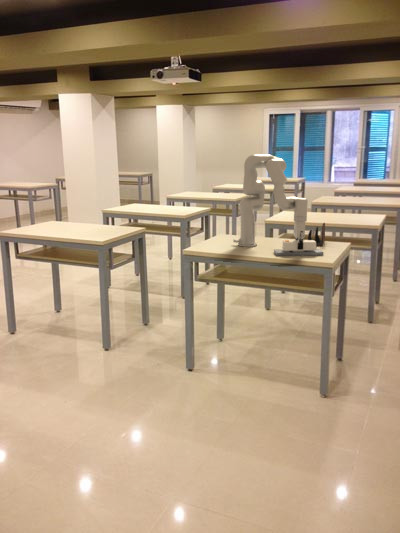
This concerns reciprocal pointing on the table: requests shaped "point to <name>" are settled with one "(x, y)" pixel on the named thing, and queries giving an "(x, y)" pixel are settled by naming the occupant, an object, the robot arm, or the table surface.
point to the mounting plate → (298, 252)
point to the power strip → (294, 245)
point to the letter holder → (317, 239)
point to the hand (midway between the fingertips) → (298, 248)
